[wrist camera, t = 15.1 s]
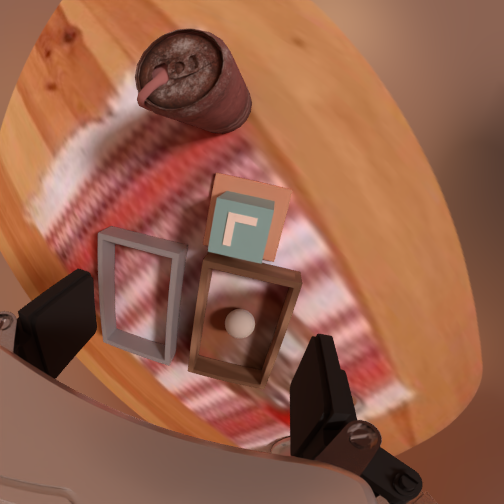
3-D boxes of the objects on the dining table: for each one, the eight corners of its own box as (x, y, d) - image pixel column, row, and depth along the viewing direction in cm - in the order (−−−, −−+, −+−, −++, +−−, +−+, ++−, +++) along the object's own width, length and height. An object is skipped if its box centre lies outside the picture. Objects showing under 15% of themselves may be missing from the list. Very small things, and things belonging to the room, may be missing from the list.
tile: (274, 260, 31) (273, 261, 30) (203, 243, 31) (202, 244, 30) (292, 189, 28) (292, 190, 28) (216, 172, 28) (216, 172, 28)
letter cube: (274, 201, 28) (274, 210, 23) (263, 246, 30) (261, 264, 25) (227, 190, 28) (216, 197, 23) (218, 236, 30) (207, 251, 25)
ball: (252, 330, 34) (249, 347, 31) (225, 323, 34) (220, 340, 31) (258, 307, 33) (256, 323, 30) (230, 300, 33) (225, 316, 30)
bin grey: (175, 352, 37) (169, 365, 34) (112, 330, 37) (103, 341, 34) (187, 245, 31) (179, 253, 28) (111, 226, 31) (98, 232, 28)
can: (181, 112, 26) (109, 85, 13) (222, 69, 24) (178, 9, 11) (221, 147, 27) (173, 140, 14) (264, 103, 25) (252, 57, 12)
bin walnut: (265, 374, 36) (264, 389, 34) (193, 357, 37) (187, 371, 34) (300, 271, 31) (302, 283, 28) (209, 250, 31) (203, 259, 28)
